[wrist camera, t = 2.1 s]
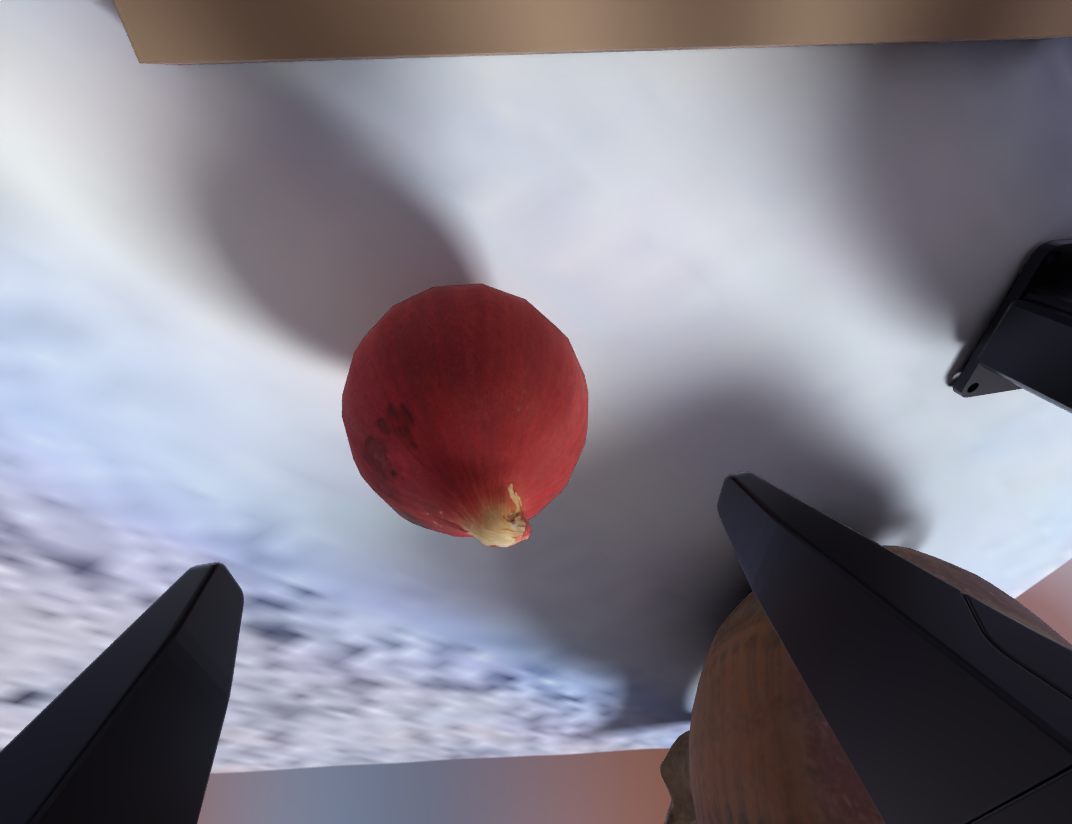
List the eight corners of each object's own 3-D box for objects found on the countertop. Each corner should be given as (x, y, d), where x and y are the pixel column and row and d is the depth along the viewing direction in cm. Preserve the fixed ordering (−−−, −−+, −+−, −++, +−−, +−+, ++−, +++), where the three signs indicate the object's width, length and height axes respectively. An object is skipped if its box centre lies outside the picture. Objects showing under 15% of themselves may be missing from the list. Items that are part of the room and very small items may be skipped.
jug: (785, 433, 20) (564, 669, 40) (1377, 1601, 5) (565, 1061, 25) (1140, 525, 23) (773, 701, 43) (2111, 1420, 9) (881, 1066, 28)
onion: (426, 441, 16) (430, 670, 10) (316, 304, 13) (216, 523, 7) (575, 368, 16) (679, 562, 10) (502, 207, 12) (588, 342, 6)
